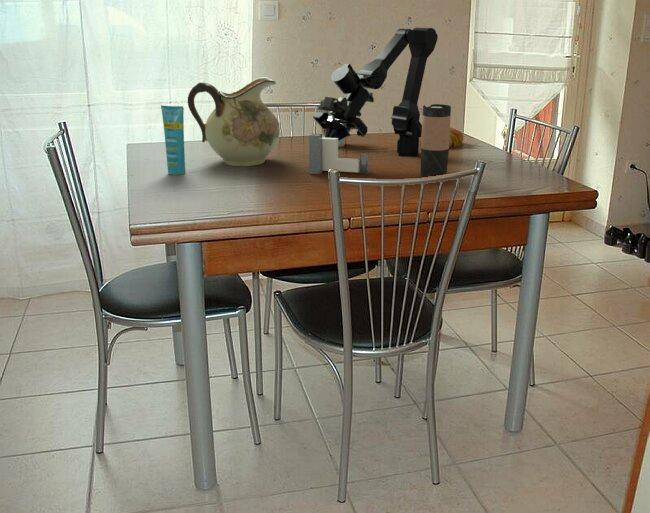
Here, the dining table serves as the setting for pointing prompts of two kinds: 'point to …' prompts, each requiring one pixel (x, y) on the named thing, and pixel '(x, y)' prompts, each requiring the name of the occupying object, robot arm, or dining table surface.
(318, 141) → the post
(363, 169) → the hinge post
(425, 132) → the travel mug
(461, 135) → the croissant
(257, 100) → the pitcher
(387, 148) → the dining table surface
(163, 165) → the dining table surface
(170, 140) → the tube
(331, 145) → the gate
